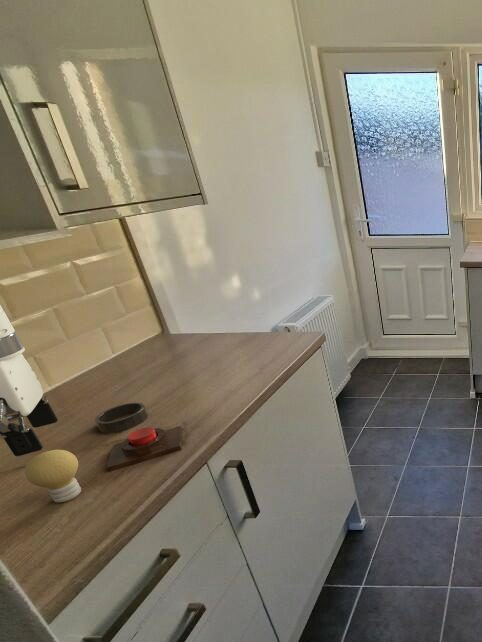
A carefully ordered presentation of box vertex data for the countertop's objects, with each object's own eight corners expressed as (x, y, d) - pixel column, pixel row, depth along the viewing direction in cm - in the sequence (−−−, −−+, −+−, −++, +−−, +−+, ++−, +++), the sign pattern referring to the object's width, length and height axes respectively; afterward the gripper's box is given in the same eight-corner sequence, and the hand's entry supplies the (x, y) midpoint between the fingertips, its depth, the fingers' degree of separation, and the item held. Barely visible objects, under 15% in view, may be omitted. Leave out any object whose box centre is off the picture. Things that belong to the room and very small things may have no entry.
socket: (99, 442, 93) (91, 427, 91) (105, 424, 99) (99, 410, 97) (148, 429, 97) (142, 414, 95) (151, 412, 104) (145, 398, 102)
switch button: (129, 449, 86) (126, 442, 86) (132, 438, 90) (129, 431, 89) (156, 441, 89) (153, 434, 88) (157, 431, 92) (155, 424, 91)
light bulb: (54, 514, 74) (27, 470, 70) (37, 503, 76) (11, 460, 72) (99, 490, 79) (76, 448, 75) (82, 480, 81) (60, 439, 77)
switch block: (108, 472, 84) (102, 460, 82) (115, 449, 90) (109, 438, 89) (181, 450, 90) (177, 438, 89) (183, 429, 97) (178, 419, 95)
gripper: (-27, 338, 70) (23, 422, 77) (-79, 377, 57) (-13, 474, 64) (36, 327, 74) (78, 408, 81) (0, 362, 61) (55, 455, 68)
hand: (38, 437), depth 72 cm, fingers open, 9 cm apart
